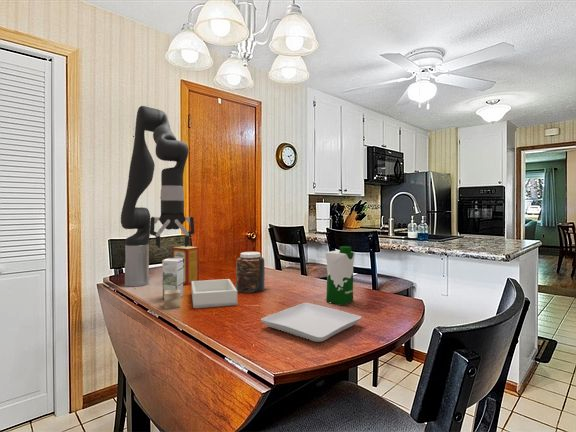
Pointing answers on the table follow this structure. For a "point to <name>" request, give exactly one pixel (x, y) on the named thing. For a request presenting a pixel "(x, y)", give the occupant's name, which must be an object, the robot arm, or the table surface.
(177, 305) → the birch cube
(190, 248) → the baking soda box
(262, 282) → the jar
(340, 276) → the milk carton
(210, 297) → the tote
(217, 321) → the table surface
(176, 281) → the syrup box
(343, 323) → the salad plate
